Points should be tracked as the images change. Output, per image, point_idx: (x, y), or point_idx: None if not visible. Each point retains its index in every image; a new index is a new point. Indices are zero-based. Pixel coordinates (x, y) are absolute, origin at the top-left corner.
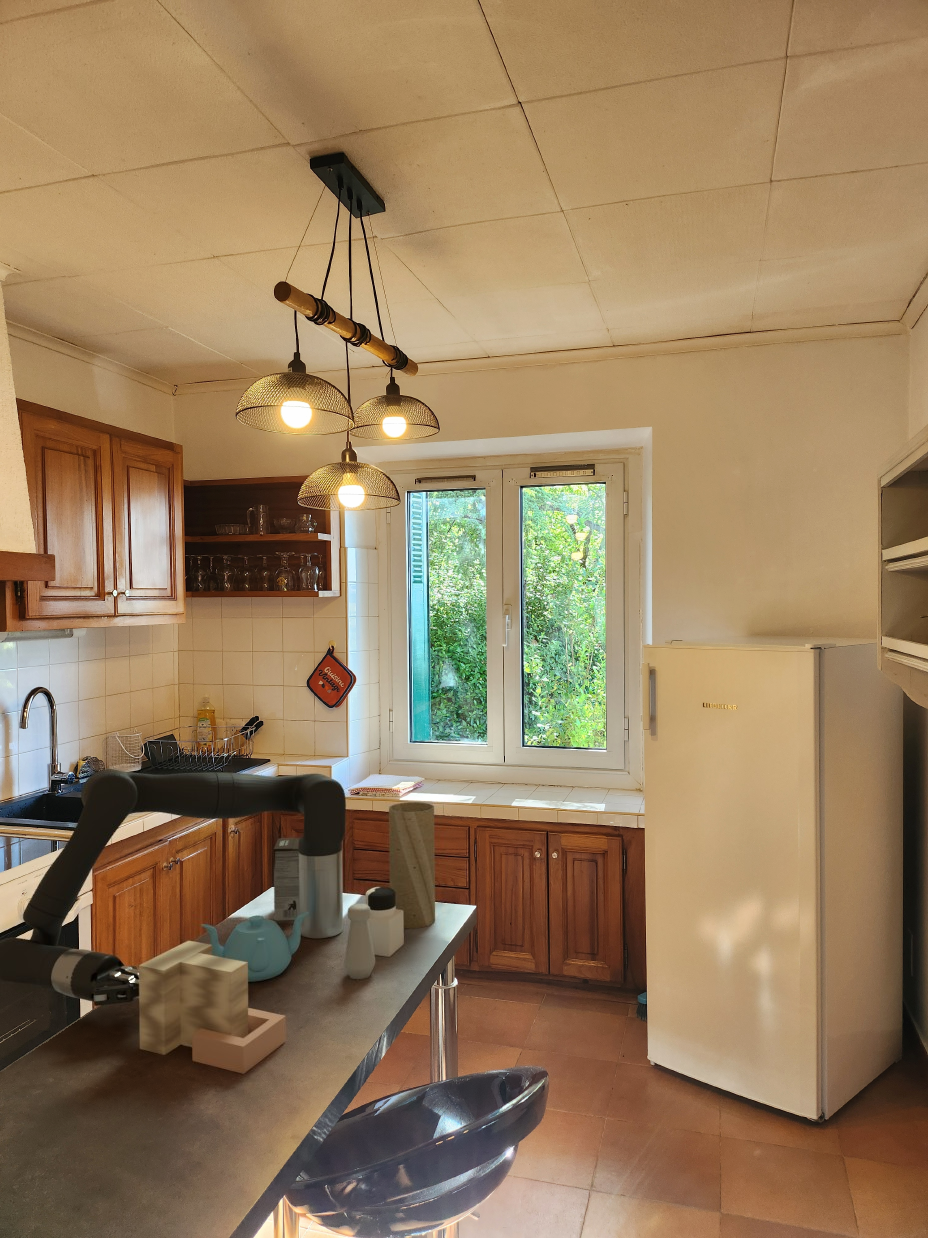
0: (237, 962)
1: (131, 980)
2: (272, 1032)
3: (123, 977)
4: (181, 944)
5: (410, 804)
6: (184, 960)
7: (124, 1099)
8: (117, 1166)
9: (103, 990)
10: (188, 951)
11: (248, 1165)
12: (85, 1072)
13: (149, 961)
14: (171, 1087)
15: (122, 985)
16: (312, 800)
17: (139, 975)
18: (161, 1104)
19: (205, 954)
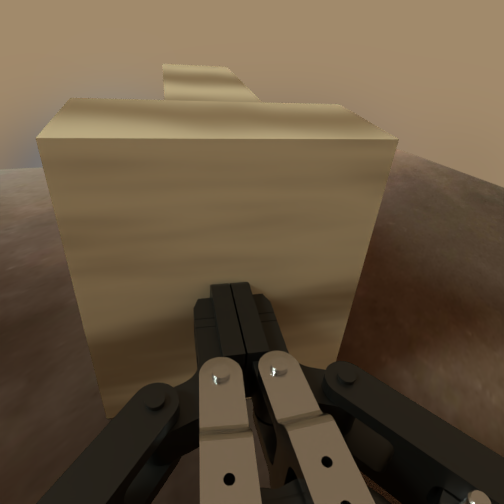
0: (173, 67)
1: (309, 417)
2: None
3: (348, 460)
4: (106, 135)
5: None
6: (244, 99)
7: (425, 274)
8: (462, 208)
9: (497, 454)
10: (171, 109)
11: None
12: (494, 404)
13: (344, 133)
14: None
15: (377, 409)
16: None
17: (385, 180)
18: (378, 237)
19: (167, 90)
